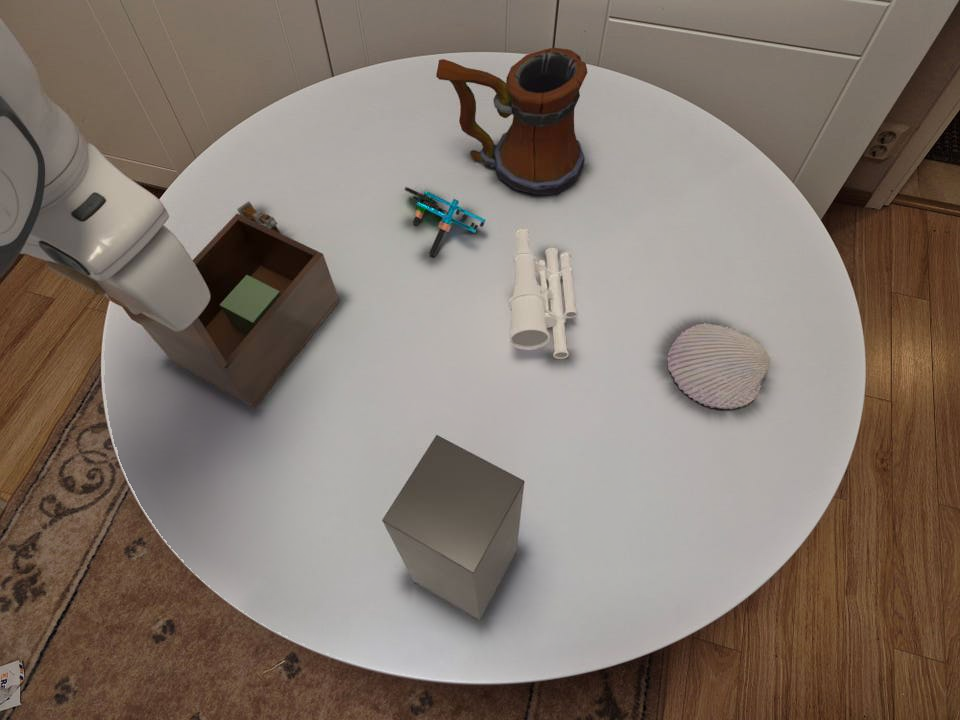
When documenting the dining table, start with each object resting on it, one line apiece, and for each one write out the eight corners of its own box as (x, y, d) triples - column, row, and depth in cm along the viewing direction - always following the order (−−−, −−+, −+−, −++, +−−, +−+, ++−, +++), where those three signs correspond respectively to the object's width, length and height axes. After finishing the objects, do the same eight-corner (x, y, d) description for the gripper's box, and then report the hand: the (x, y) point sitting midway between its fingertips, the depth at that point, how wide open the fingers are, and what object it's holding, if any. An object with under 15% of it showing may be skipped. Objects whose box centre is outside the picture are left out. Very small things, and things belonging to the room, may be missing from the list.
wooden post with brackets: (284, 253, 80) (264, 222, 77) (255, 238, 85) (235, 207, 82) (296, 245, 80) (277, 213, 77) (266, 229, 86) (248, 199, 83)
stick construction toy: (500, 221, 80) (459, 199, 73) (474, 275, 81) (433, 258, 75) (433, 191, 87) (391, 169, 80) (410, 241, 88) (367, 223, 82)
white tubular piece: (538, 265, 82) (572, 244, 78) (546, 367, 75) (584, 350, 72) (491, 236, 77) (526, 212, 73) (496, 343, 70) (534, 323, 67)
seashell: (789, 399, 67) (695, 387, 65) (759, 420, 72) (670, 409, 70) (772, 311, 72) (684, 298, 70) (745, 336, 77) (661, 324, 75)
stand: (479, 620, 60) (473, 573, 43) (413, 581, 62) (381, 520, 45) (516, 551, 63) (525, 480, 46) (451, 515, 65) (436, 434, 48)
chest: (261, 262, 80) (236, 212, 73) (340, 300, 77) (323, 253, 70) (172, 362, 74) (136, 319, 66) (255, 408, 71) (226, 368, 63)
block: (265, 344, 74) (252, 322, 70) (233, 327, 75) (219, 304, 71) (290, 314, 76) (279, 291, 72) (259, 298, 77) (246, 274, 73)
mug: (437, 190, 85) (426, 91, 72) (450, 126, 91) (443, 23, 78) (580, 202, 84) (596, 103, 71) (585, 136, 89) (601, 33, 76)
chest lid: (45, 194, 52) (0, 231, 50) (156, 250, 49) (113, 292, 47) (136, 314, 66) (104, 347, 64) (227, 364, 63) (196, 399, 61)
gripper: (-109, 162, 46) (16, 280, 59) (111, 279, 41) (198, 382, 53) (-35, 106, 49) (70, 230, 61) (181, 209, 44) (249, 322, 56)
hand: (131, 302), depth 57 cm, fingers closed, pressing on chest lid
